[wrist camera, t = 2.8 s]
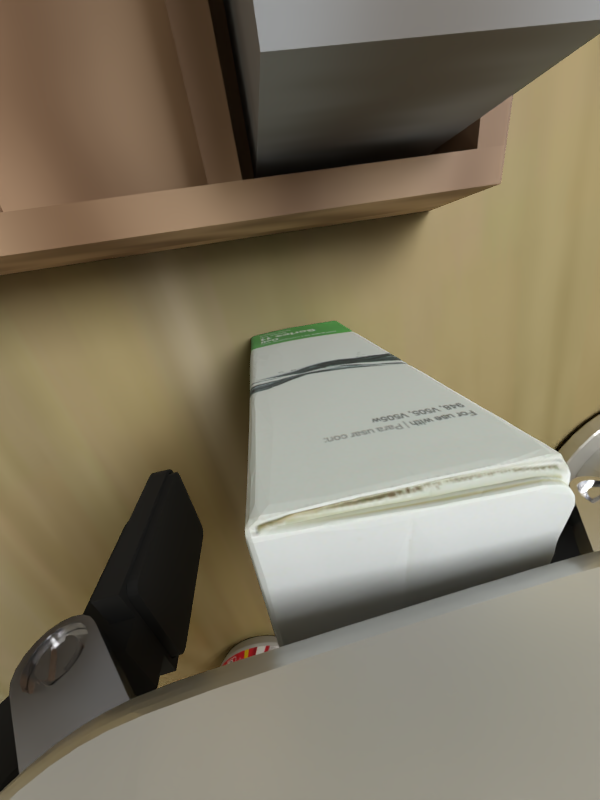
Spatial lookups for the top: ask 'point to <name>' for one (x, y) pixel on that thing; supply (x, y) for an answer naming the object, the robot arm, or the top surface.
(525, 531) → the ink box
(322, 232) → the top surface
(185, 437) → the top surface
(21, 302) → the top surface
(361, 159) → the rack
